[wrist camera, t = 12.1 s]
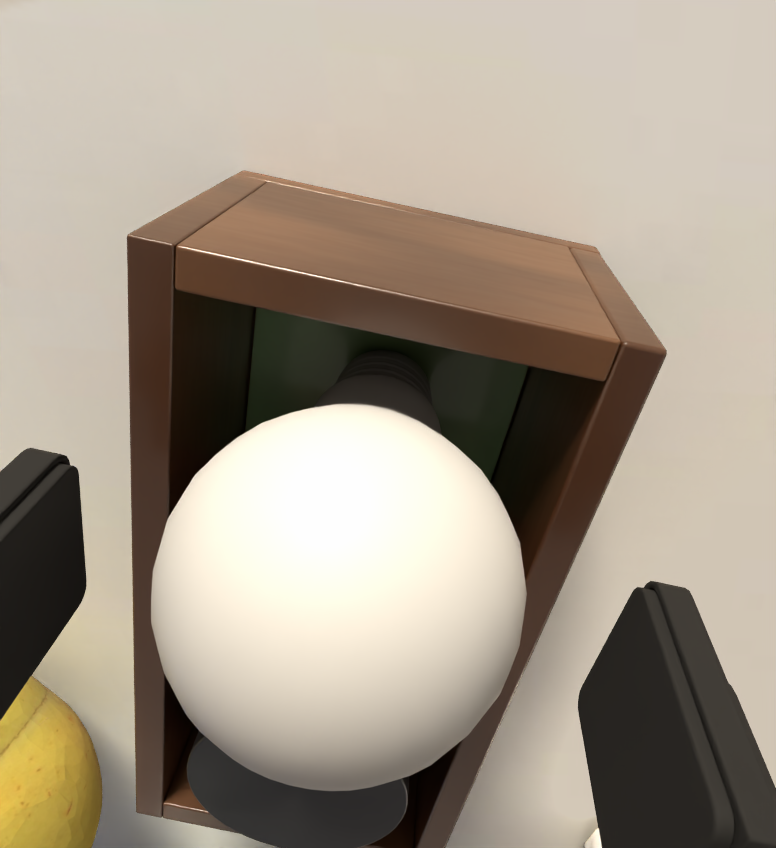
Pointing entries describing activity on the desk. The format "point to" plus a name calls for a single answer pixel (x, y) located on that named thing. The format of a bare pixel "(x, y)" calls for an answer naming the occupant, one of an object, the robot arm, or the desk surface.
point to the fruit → (47, 774)
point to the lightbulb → (340, 588)
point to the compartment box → (319, 370)
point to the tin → (291, 804)
